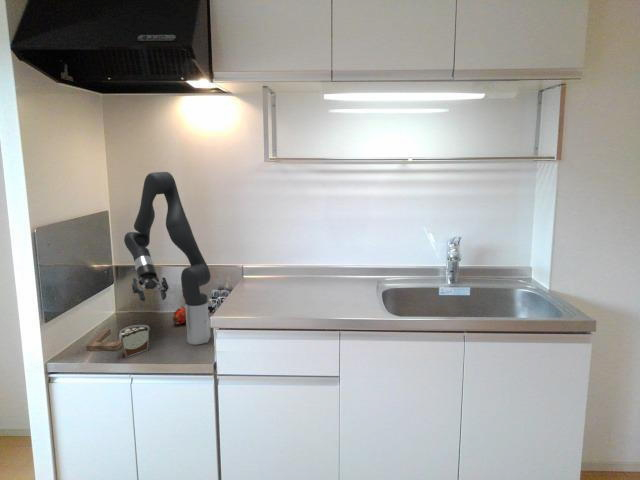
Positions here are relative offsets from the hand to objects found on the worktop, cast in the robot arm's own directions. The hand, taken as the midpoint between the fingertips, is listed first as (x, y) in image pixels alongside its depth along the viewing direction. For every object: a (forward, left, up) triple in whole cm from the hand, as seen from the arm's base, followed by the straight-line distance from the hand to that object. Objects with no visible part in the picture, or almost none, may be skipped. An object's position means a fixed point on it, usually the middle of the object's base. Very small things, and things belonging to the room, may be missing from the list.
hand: (154, 299), depth 183 cm
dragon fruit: (-5, -23, -20) cm, 31 cm away
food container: (+7, +7, -20) cm, 22 cm away
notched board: (+20, -3, -20) cm, 29 cm away
